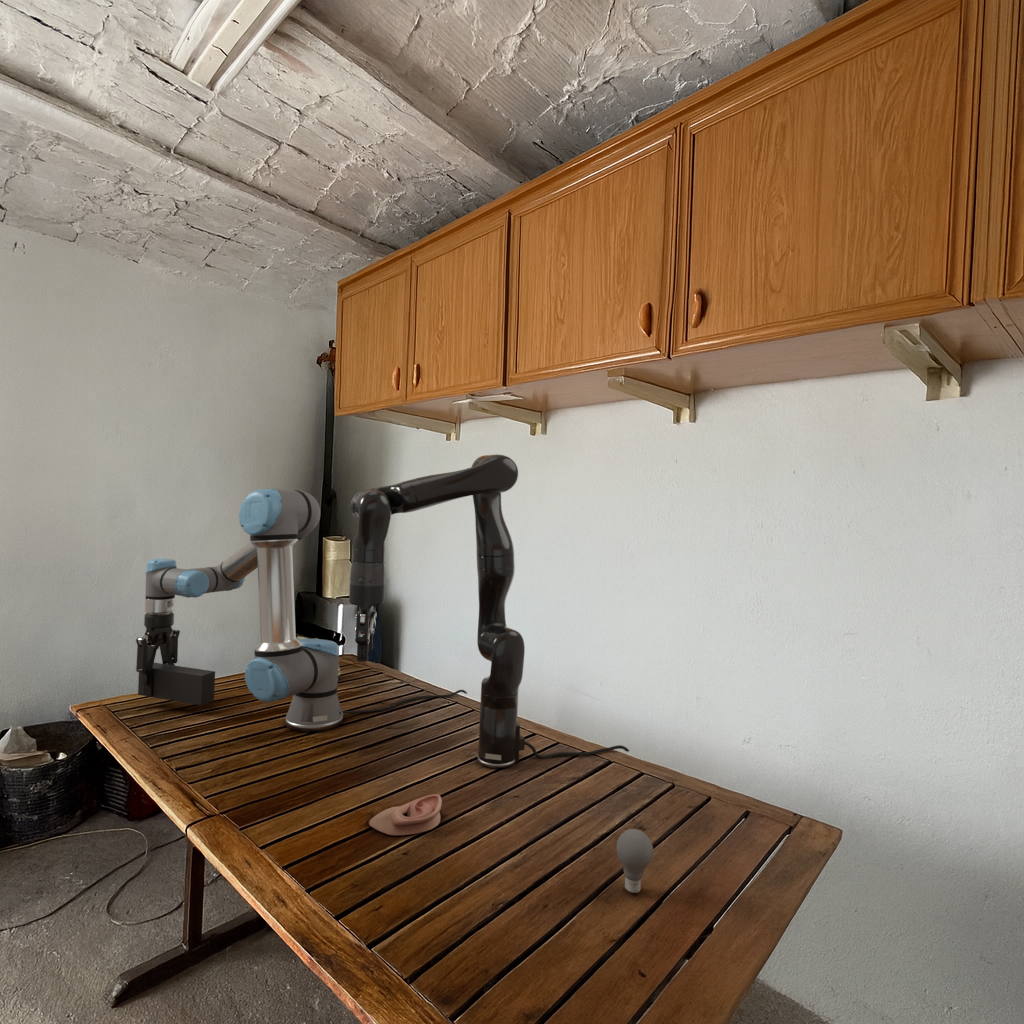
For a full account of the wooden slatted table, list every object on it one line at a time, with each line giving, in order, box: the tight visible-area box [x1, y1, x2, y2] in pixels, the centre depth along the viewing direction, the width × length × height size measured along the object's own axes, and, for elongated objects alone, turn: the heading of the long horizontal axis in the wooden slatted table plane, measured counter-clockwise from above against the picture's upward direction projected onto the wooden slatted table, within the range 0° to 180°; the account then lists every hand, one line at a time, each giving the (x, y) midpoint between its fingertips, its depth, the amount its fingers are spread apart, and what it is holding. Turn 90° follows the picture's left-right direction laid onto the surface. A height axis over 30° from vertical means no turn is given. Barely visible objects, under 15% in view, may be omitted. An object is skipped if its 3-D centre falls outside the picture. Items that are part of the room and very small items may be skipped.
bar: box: [137, 662, 216, 706], centre depth 182 cm, size 22×5×8 cm, turn 74°
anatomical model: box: [368, 793, 443, 836], centre depth 125 cm, size 13×4×12 cm
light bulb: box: [615, 828, 654, 894], centre depth 106 cm, size 6×6×10 cm
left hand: (156, 691), depth 184 cm, fingers closed on bar, 5 cm apart
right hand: (364, 656), depth 138 cm, fingers open, 8 cm apart
